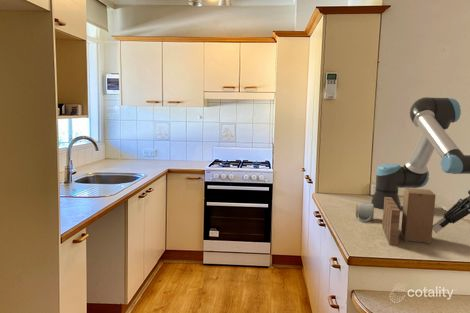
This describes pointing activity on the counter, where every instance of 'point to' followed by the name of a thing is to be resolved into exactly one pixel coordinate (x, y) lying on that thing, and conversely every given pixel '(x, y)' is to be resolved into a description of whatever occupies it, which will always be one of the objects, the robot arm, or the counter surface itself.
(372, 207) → the ceramic mug
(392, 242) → the walnut board
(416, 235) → the wooden block
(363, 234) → the counter surface
